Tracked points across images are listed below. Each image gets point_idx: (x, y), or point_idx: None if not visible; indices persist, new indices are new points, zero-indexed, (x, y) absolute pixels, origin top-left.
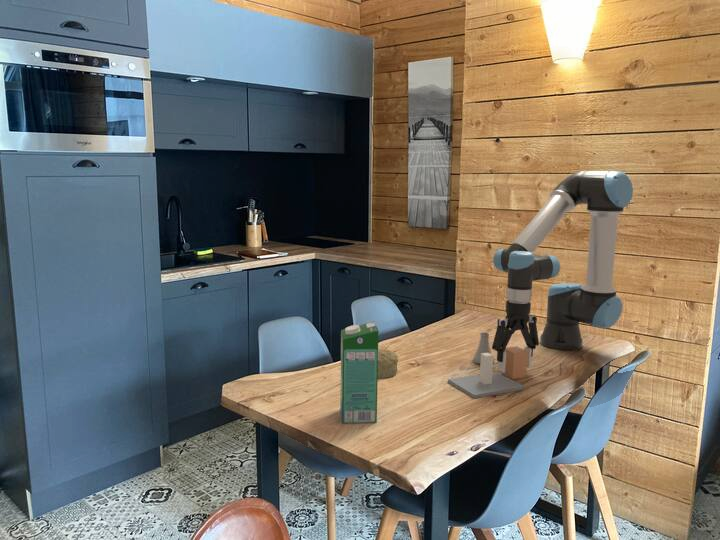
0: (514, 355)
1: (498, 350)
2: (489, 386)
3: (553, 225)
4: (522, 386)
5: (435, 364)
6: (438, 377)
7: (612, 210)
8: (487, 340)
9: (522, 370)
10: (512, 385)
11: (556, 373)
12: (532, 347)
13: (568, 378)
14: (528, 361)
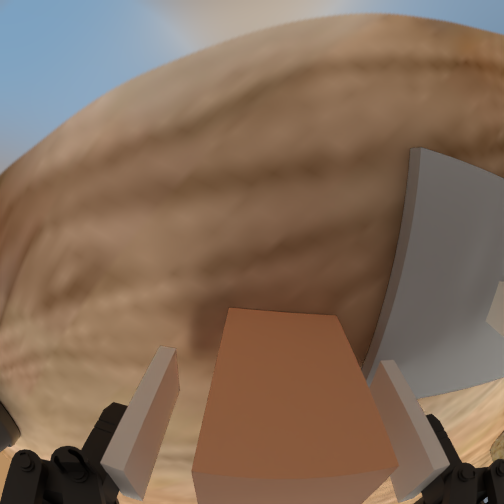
0: (386, 443)
1: (496, 466)
2: None
3: None
4: (431, 151)
5: None
6: (495, 401)
7: None
8: None
9: (258, 337)
10: (462, 201)
11: (40, 257)
12: (86, 468)
13: (32, 171)
14: (161, 386)
